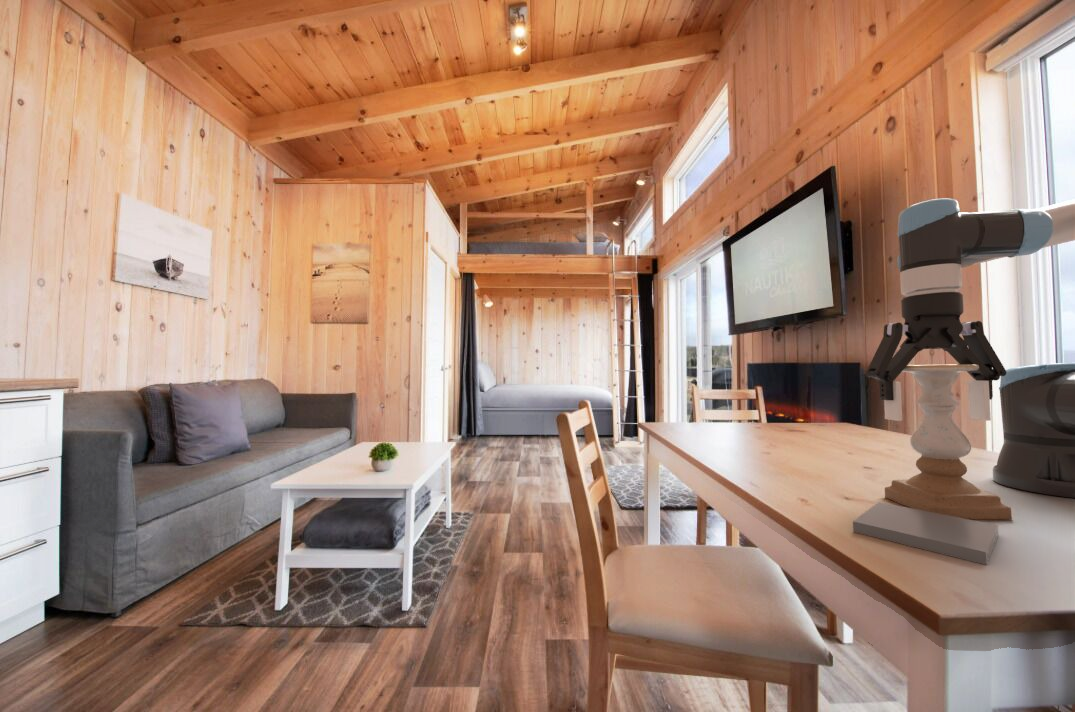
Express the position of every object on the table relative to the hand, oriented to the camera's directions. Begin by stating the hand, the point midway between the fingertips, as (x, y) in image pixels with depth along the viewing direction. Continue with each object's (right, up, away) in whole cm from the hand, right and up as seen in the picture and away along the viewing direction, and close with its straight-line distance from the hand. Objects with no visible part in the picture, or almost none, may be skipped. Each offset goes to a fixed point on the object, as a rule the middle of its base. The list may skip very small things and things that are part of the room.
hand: (936, 420), depth 68 cm
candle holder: (+1, -15, 0) cm, 15 cm away
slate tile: (-12, -15, -11) cm, 22 cm away
